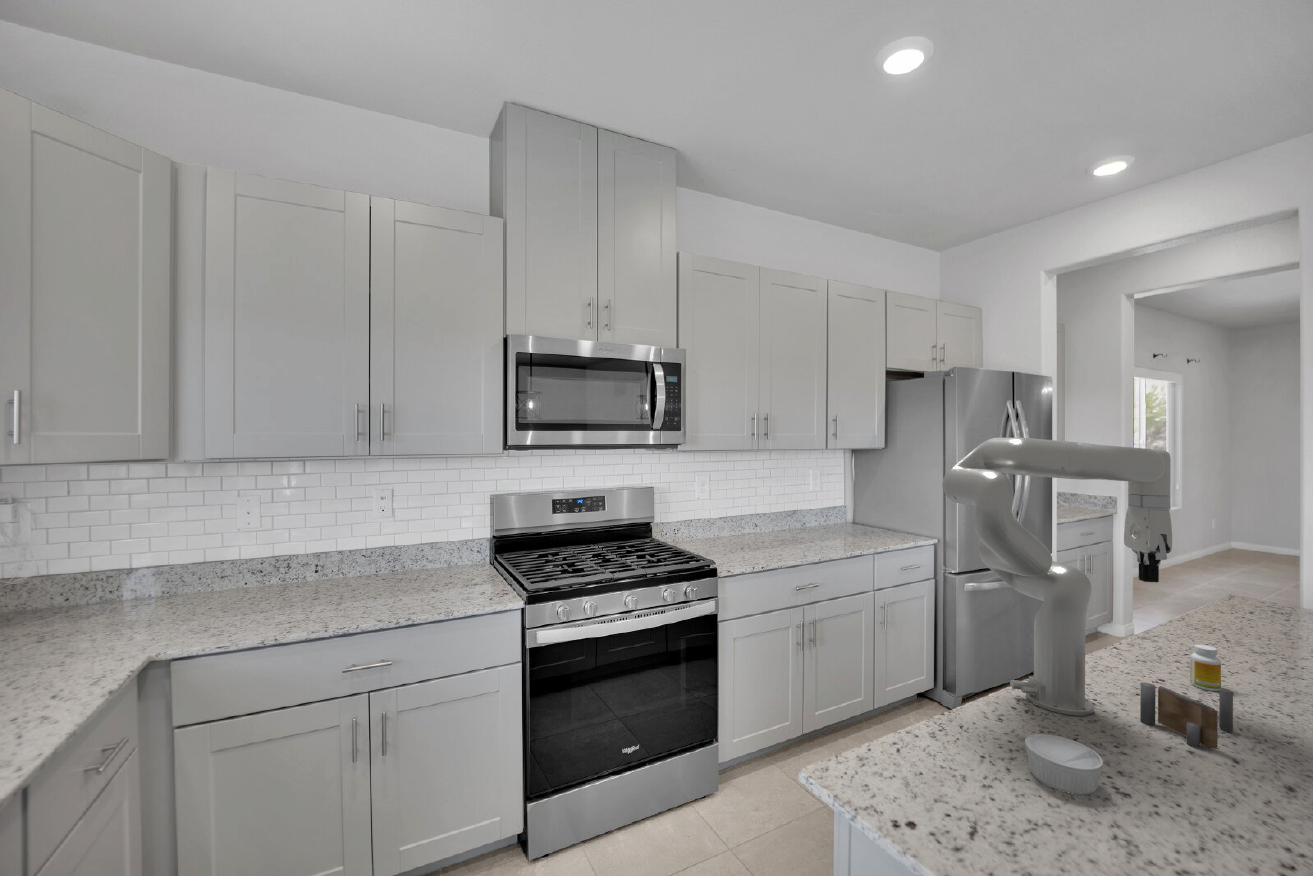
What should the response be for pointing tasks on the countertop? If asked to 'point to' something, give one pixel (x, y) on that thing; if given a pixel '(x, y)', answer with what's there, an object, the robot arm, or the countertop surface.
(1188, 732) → the gate frame
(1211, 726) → the gate
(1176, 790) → the countertop surface
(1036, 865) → the countertop surface
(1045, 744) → the ramekin
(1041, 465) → the robot arm
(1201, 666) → the supplement bottle
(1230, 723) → the post
